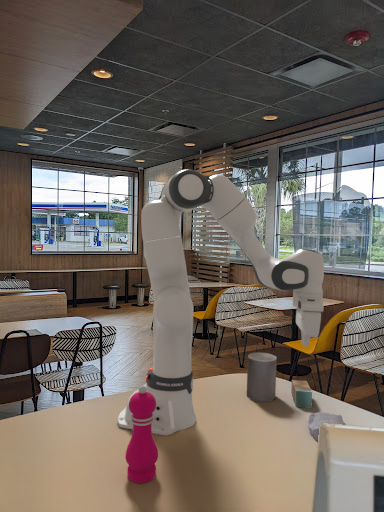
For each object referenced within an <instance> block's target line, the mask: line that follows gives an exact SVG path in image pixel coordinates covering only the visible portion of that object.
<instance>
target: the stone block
mask: <svg viewBox="0 0 384 512" xmlns="http://www.w3.org/2000/svg"><path fill="white" fill-rule="evenodd" d="M323 423H328V424H342V425H347V424H346V422H344V420H343V415H342V414H335V413H330V412H325V411H324V412H323V411H321V412H320V411H319V412H313V413H311V414H308V421H307V428H308V431H309V434H310V435H311V437H312V438H313V439H314V440H315V441H318V435H319V427H320V425H321V424H323ZM318 442H319V441H318Z"/></svg>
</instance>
